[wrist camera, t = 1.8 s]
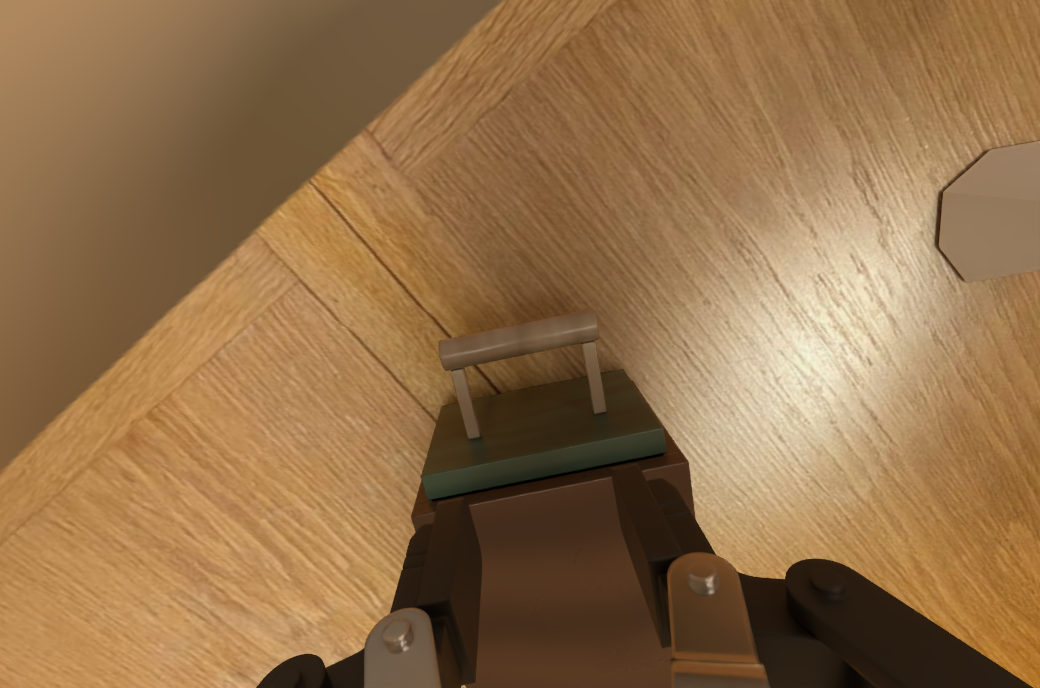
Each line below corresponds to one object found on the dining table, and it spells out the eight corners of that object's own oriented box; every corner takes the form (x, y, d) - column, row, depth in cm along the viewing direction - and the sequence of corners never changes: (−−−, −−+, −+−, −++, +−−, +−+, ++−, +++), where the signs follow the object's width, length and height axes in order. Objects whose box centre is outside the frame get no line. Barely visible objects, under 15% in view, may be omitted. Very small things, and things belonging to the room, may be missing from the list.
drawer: (418, 323, 26) (387, 370, 19) (609, 283, 26) (648, 315, 19) (490, 581, 31) (486, 692, 24) (651, 550, 31) (694, 654, 24)
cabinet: (438, 419, 29) (410, 516, 20) (632, 379, 29) (688, 461, 20) (489, 600, 33) (484, 746, 24) (660, 567, 33) (718, 704, 24)
